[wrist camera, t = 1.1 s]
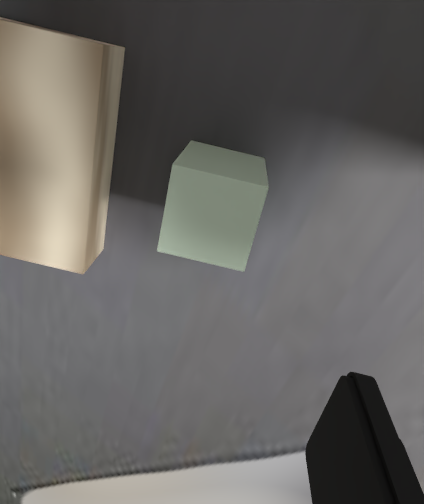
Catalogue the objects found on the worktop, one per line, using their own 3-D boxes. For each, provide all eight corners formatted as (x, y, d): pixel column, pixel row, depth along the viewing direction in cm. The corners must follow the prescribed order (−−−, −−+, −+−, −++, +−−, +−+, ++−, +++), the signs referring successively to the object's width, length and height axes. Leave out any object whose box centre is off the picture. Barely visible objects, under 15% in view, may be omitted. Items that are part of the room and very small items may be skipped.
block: (264, 157, 26) (268, 187, 20) (245, 225, 29) (244, 271, 22) (191, 140, 26) (172, 163, 20) (177, 209, 28) (157, 251, 22)
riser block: (125, 47, 24) (103, 44, 21) (103, 249, 30) (83, 274, 27) (-53, 4, 24) (-106, -7, 20) (-39, 215, 30) (-78, 236, 27)
